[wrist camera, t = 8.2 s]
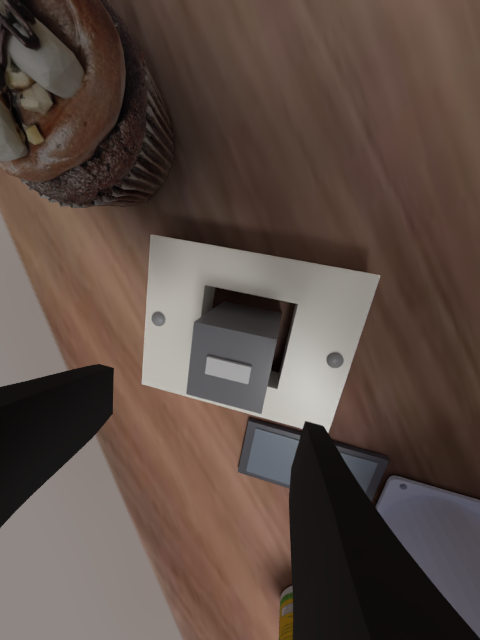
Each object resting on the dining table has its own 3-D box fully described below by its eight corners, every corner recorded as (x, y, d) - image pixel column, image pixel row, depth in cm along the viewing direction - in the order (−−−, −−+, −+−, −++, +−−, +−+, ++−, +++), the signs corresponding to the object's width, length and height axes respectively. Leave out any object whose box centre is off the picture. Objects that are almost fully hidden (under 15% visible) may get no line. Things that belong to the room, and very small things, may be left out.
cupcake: (114, 20, 15) (-177, -368, 6) (217, 144, 16) (106, -23, 6) (41, 147, 18) (-229, 30, 9) (130, 247, 19) (-34, 239, 9)
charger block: (281, 312, 18) (277, 341, 12) (270, 366, 19) (260, 416, 13) (223, 301, 18) (192, 322, 13) (216, 353, 20) (184, 396, 14)
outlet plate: (367, 272, 16) (381, 275, 13) (322, 413, 19) (327, 436, 17) (169, 237, 18) (149, 234, 16) (158, 369, 21) (140, 384, 19)
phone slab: (250, 413, 21) (248, 421, 20) (384, 450, 19) (389, 461, 18) (240, 462, 23) (237, 472, 22) (363, 501, 21) (366, 513, 20)
